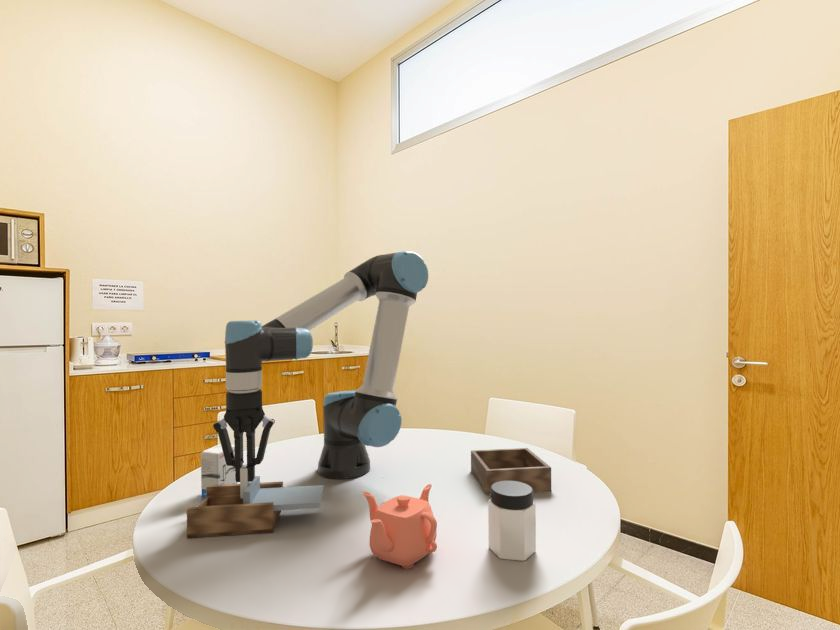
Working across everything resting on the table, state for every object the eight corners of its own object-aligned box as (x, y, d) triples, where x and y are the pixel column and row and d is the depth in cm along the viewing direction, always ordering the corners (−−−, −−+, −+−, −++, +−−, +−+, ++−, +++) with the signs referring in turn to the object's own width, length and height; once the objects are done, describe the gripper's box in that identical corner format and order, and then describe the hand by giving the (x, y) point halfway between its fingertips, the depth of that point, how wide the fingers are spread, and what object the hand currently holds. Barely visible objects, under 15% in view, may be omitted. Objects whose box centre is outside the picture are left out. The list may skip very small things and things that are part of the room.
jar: (504, 534, 94) (504, 476, 94) (541, 547, 89) (541, 486, 89) (481, 551, 87) (481, 489, 87) (519, 567, 82) (519, 500, 82)
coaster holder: (527, 468, 133) (527, 447, 133) (551, 490, 117) (551, 467, 117) (471, 471, 131) (470, 450, 131) (487, 494, 114) (486, 470, 114)
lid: (323, 490, 108) (323, 472, 108) (319, 508, 98) (319, 488, 98) (254, 493, 106) (254, 475, 106) (242, 512, 96) (242, 492, 96)
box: (283, 506, 108) (283, 481, 108) (272, 532, 95) (272, 504, 95) (208, 511, 106) (208, 485, 106) (187, 538, 93) (186, 509, 93)
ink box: (218, 501, 112) (217, 453, 112) (200, 499, 113) (199, 452, 112) (238, 487, 120) (238, 443, 120) (221, 486, 121) (221, 442, 121)
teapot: (371, 582, 78) (370, 518, 78) (362, 541, 92) (361, 487, 91) (452, 570, 81) (451, 508, 81) (431, 532, 95) (431, 480, 95)
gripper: (277, 386, 105) (278, 487, 105) (219, 387, 104) (220, 490, 104) (270, 392, 98) (272, 501, 98) (207, 393, 96) (209, 504, 96)
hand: (245, 495), depth 101 cm, fingers closed
